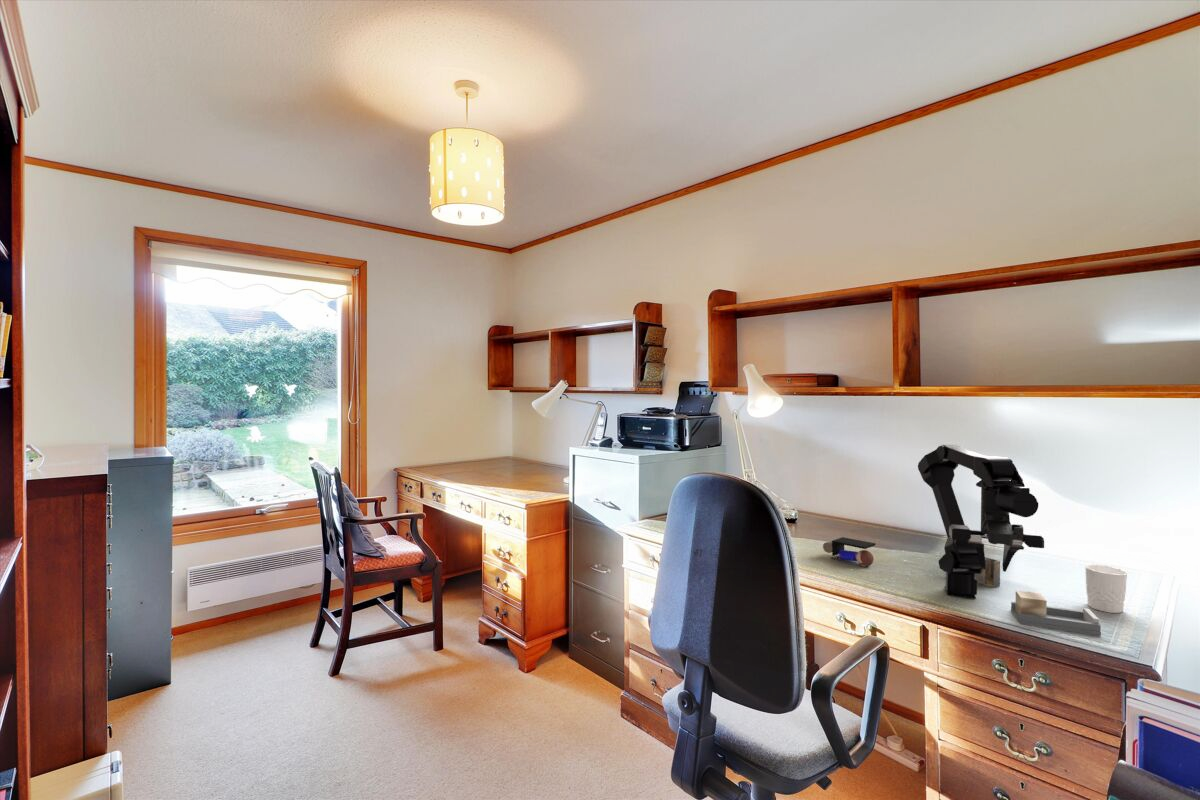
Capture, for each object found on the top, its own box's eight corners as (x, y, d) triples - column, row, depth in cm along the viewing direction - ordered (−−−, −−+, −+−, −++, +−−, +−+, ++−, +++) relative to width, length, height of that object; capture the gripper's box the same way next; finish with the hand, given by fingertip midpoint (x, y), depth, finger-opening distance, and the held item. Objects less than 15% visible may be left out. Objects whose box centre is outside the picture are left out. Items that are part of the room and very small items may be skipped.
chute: (1020, 623, 133) (1020, 610, 133) (1010, 610, 141) (1011, 597, 141) (1100, 635, 126) (1101, 621, 126) (1086, 620, 134) (1086, 606, 134)
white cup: (1105, 601, 146) (1106, 564, 146) (1135, 614, 138) (1136, 574, 138) (1076, 602, 146) (1077, 564, 145) (1104, 614, 138) (1105, 574, 138)
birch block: (1020, 617, 134) (1020, 597, 134) (1015, 610, 139) (1015, 590, 139) (1046, 621, 132) (1046, 600, 132) (1040, 613, 137) (1040, 593, 137)
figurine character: (822, 562, 184) (867, 569, 172) (820, 539, 184) (864, 544, 172) (834, 558, 188) (878, 565, 176) (832, 535, 188) (876, 540, 176)
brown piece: (952, 577, 166) (953, 544, 166) (958, 575, 168) (959, 543, 168) (993, 589, 156) (994, 555, 156) (999, 587, 158) (1000, 553, 157)
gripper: (955, 511, 135) (954, 574, 135) (1051, 518, 127) (1050, 586, 127) (949, 502, 145) (948, 561, 145) (1037, 508, 137) (1036, 571, 137)
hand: (994, 570), depth 138 cm, fingers open, 4 cm apart
